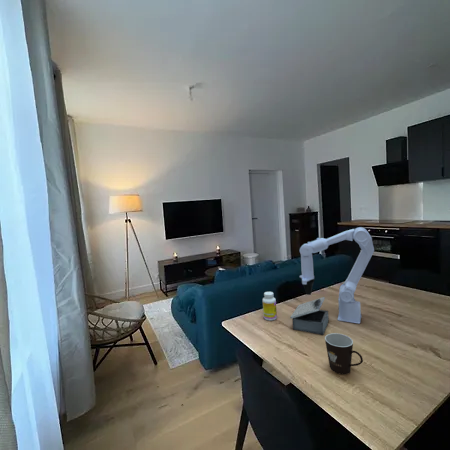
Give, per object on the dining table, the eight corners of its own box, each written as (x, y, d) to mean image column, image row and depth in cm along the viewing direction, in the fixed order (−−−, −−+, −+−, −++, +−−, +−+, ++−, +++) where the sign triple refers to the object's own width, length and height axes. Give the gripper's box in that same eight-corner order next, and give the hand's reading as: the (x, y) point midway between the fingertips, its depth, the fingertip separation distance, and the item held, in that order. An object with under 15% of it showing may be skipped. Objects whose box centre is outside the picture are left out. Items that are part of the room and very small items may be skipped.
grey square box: (328, 321, 117) (328, 310, 117) (323, 335, 105) (322, 323, 105) (300, 316, 124) (300, 306, 123) (292, 329, 112) (292, 318, 111)
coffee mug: (321, 362, 88) (320, 334, 87) (344, 359, 88) (343, 332, 88) (339, 385, 76) (338, 353, 75) (366, 381, 77) (364, 350, 76)
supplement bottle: (277, 321, 121) (275, 295, 120) (263, 320, 122) (261, 295, 121) (276, 315, 127) (275, 290, 126) (263, 315, 129) (262, 290, 128)
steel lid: (324, 298, 117) (323, 294, 117) (318, 310, 105) (316, 306, 105) (299, 306, 124) (297, 303, 124) (290, 318, 111) (288, 315, 112)
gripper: (303, 264, 132) (304, 288, 133) (295, 270, 120) (296, 298, 121) (316, 264, 129) (318, 290, 129) (310, 271, 116) (311, 300, 117)
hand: (308, 294), depth 125 cm, fingers closed
